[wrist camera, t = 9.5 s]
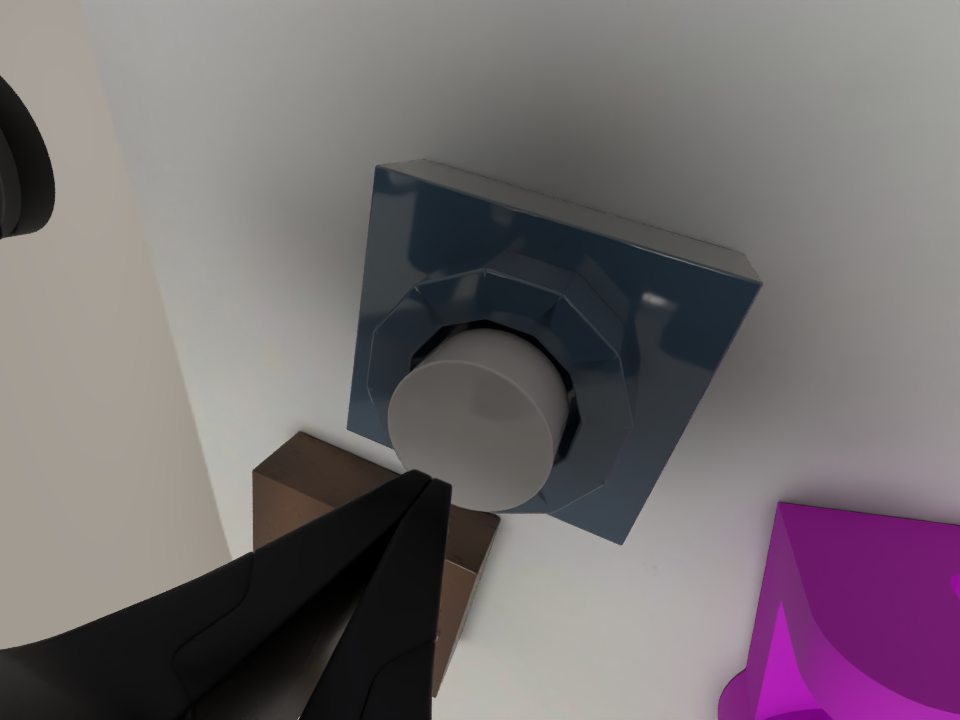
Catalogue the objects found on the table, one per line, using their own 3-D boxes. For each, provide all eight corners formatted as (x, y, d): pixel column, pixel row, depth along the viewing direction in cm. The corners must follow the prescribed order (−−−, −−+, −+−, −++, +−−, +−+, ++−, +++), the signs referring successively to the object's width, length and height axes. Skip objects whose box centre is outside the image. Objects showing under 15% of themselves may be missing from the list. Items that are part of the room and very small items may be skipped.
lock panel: (292, 558, 27) (250, 606, 24) (298, 431, 23) (248, 472, 20) (459, 640, 25) (434, 702, 22) (501, 518, 21) (476, 577, 18)
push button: (412, 430, 14) (377, 472, 12) (437, 305, 12) (398, 335, 10) (543, 484, 13) (525, 537, 12) (591, 360, 11) (578, 402, 10)
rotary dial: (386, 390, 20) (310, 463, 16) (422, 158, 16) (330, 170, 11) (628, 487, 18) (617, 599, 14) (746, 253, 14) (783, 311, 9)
